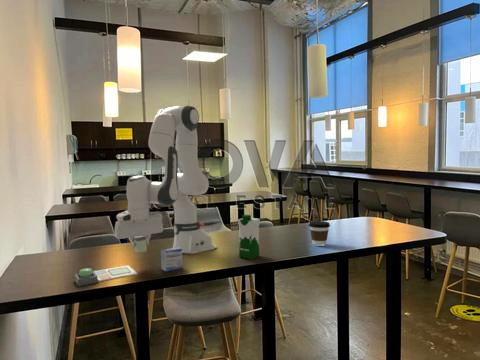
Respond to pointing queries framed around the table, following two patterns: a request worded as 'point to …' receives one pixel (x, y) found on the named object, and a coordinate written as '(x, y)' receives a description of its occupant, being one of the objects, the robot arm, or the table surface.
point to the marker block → (140, 244)
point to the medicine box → (171, 259)
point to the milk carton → (248, 237)
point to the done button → (85, 272)
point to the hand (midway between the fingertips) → (140, 245)
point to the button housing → (86, 279)
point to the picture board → (115, 273)
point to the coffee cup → (319, 232)
